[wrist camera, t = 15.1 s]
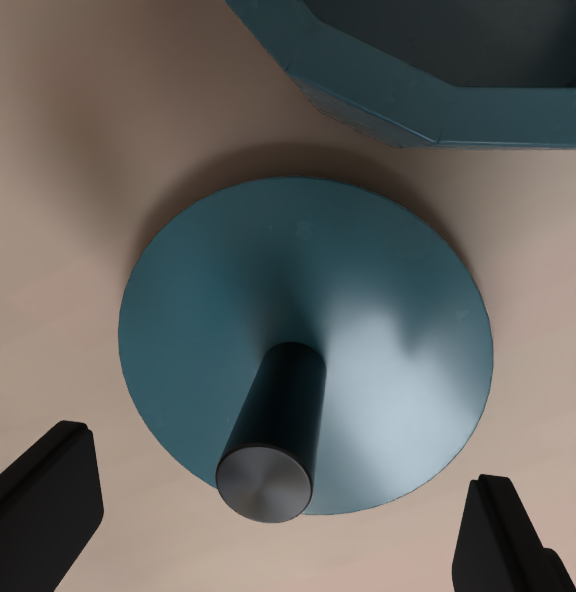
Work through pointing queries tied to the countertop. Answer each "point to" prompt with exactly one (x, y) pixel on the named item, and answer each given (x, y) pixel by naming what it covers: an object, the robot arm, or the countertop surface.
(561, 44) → the pot
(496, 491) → the robot arm
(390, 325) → the lid
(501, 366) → the countertop surface
